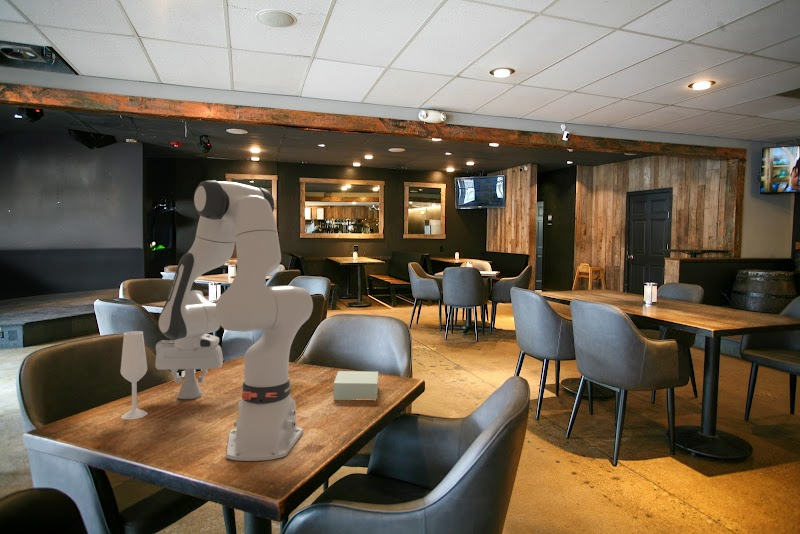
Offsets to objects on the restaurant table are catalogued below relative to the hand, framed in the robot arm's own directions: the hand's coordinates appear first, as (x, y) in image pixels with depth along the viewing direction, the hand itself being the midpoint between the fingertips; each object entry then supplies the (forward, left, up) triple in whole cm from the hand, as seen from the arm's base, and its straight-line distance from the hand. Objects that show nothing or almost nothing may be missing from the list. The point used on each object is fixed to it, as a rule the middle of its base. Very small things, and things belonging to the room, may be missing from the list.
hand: (189, 382), depth 152 cm
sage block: (0, -54, -5) cm, 54 cm away
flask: (0, 0, -5) cm, 5 cm away
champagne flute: (-16, +10, -5) cm, 19 cm away
